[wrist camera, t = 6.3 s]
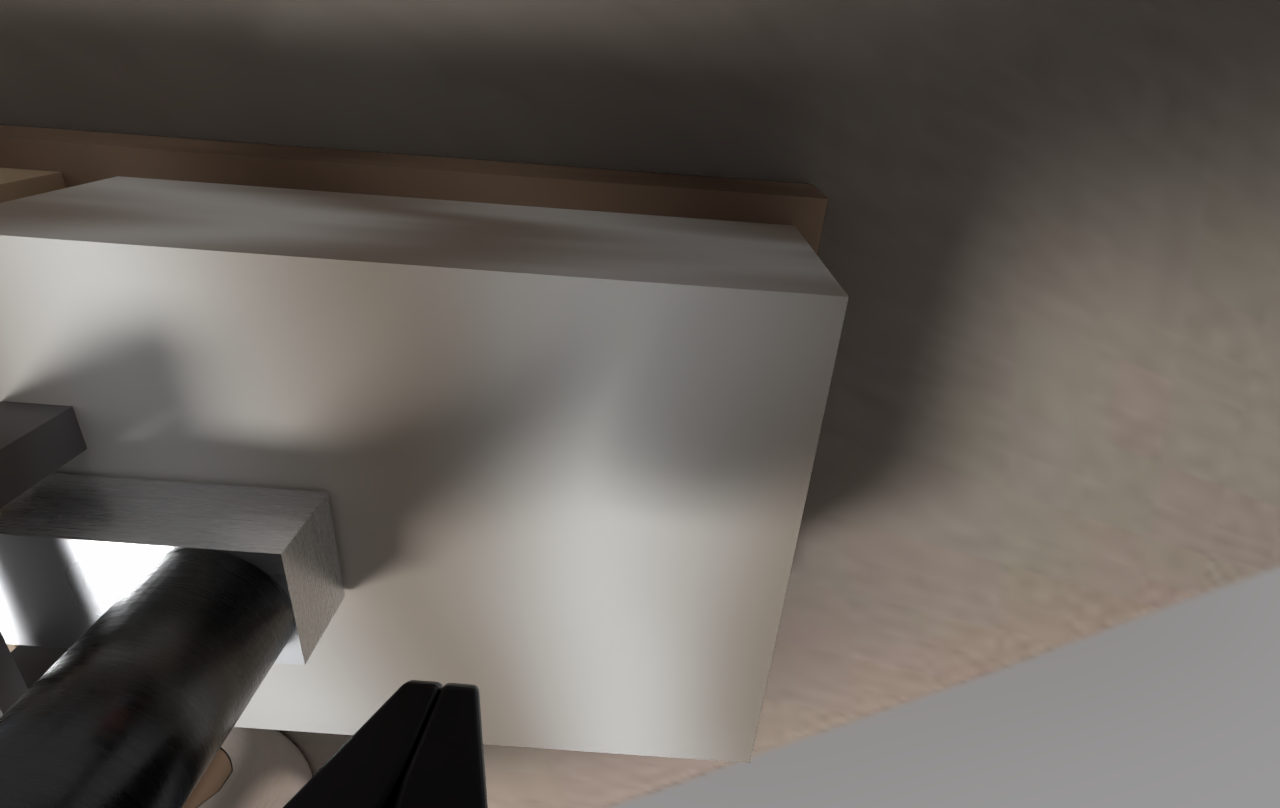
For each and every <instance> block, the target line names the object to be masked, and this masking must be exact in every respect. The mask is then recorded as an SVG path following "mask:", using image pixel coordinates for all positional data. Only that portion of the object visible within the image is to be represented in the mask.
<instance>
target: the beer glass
mask: <svg viewBox="0 0 1280 808" xmlns="http://www.w3.org/2000/svg"><path fill="white" fill-rule="evenodd" d="M312 777H313V776H312V772H311V769H310V766H309V764H308V762H307V760H306V758H305V757H304V755H303V754H302V752H301V751H300V750H299V749H298V747H297V746H296V745H295V744H294V743H293V742H292V741H291V740H290V739H289V738H287V737H286V736H285V735H284V734H283V733H281V732H280V731H279V730H271V729H257V728H242V727H233V729H232V730H231V732H230V733H229V735H228V737H227V738H226V740H225V741H224V743H223V744H222V746H221V748H220V749H219V751H218V752H217V754H216V755H215V757H214V759H213V760H212V762H211V763H210V765H209V766H208V768H207V770H206V771H205V773H204V774H203V776H202V777H201V779H200V781H199V782H198V784H197V785H196V787H195V789H194V790H193V792H192V793H191V795H190V796H189V798H188V800H187V801H186V803H185V804H184V806H183V807H182V808H283V807H284V806H285V805H286V804H287V803H288V802H289V801H290V800H291V799H292V798H293V797H294V795H295V794H296V793H297V792H298V791H299V790H300V789H301V788H302V787H303V786H304V785H305V784H306V783H307V782H308V781H309V780H310V779H311V778H312Z"/></svg>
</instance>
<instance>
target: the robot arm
mask: <svg viewBox="0 0 1280 808" xmlns="http://www.w3.org/2000/svg"><path fill="white" fill-rule="evenodd" d="M283 808H488V806H487V792H486V778H485V763H484V749H483V735H482V720H481V706H480V692H479V688H478V686H476V685H474V684H461V683H447V684H445V685H444V686H443V685H442V684H441V683H440V682H435V681H422V680H410V681H408V682H406V683H404V684H403V685H402V686H401V687H400V688H399V689H398V690H397V691H396V692H395V693H394V694H393V695H392V696H391V697H390V698H389V699H388V700H387V701H386V702H385V703H384V704H383V705H382V706H381V707H380V708H379V709H378V710H377V711H376V712H375V713H374V714H373V716H372V717H371V718H370V719H369V720H368V721H367V722H366V723H365V724H364V725H363V726H362V727H361V728H360V729H359V730H358V731H357V732H356V733H355V734H354V735H353V736H352V737H351V738H350V739H349V740H348V741H347V742H346V743H345V744H344V745H343V746H342V747H341V748H340V749H339V750H338V751H337V752H336V753H335V754H334V755H333V757H332V758H331V759H330V760H329V761H328V762H327V763H326V764H325V765H324V766H323V767H322V768H321V769H320V770H319V771H318V772H317V773H316V774H315V775H314V776H313V777H312V778H311V779H310V780H309V781H308V782H307V783H306V784H305V785H304V786H303V787H302V788H301V789H300V790H299V791H298V792H297V793H296V794H295V795H294V797H293V798H292V799H291V800H290V801H289V802H288V803H287V804H286V805H285V806H284V807H283Z"/></svg>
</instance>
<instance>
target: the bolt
mask: <svg viewBox="0 0 1280 808" xmlns="http://www.w3.org/2000/svg"><path fill="white" fill-rule="evenodd" d="M344 597H345V592H344V586H343V580H342V574H341V568H340V562H339V556H338V550H337V545H336V539H335V533H334V527H333V521H332V515H331V509H330V503H329V497H328V493H327V492H313V491H299V490H285V489H271V488H257V487H243V486H229V485H215V484H201V483H187V482H173V481H159V480H145V479H131V478H117V477H103V476H89V475H75V474H61V473H51V474H50V475H49V476H47V477H46V478H44V479H43V480H41V481H40V482H38V483H37V484H36V485H34V486H33V487H31V488H30V489H28V490H27V491H25V492H24V493H22V494H21V495H20V496H18V497H17V498H15V499H14V500H12V501H11V502H9V503H8V504H7V505H5V506H4V507H2V508H1V509H0V632H1V634H2V636H3V638H4V640H5V642H6V644H12V645H27V646H41V647H55V648H69V649H68V650H67V651H66V652H65V653H64V654H63V655H62V656H61V657H60V658H59V659H58V660H57V661H56V662H55V663H54V664H53V665H52V666H51V667H50V668H49V669H48V670H47V671H46V672H45V673H44V674H43V675H42V676H41V677H40V678H39V679H38V680H37V681H36V682H35V683H34V684H33V685H32V686H31V687H30V688H29V689H28V690H27V691H26V692H25V693H24V694H23V695H22V696H21V697H20V698H19V699H18V700H17V701H16V702H15V703H14V704H13V705H12V706H11V707H10V708H9V709H8V710H7V711H6V712H5V713H4V714H3V715H2V716H1V717H0V808H182V807H183V806H184V804H185V803H186V801H187V800H188V798H189V796H190V795H191V793H192V792H193V790H194V789H195V787H196V785H197V784H198V782H199V781H200V779H201V777H202V776H203V774H204V773H205V771H206V770H207V768H208V766H209V765H210V763H211V762H212V760H213V759H214V757H215V755H216V754H217V752H218V751H219V749H220V748H221V746H222V744H223V743H224V741H225V740H226V738H227V737H228V735H229V733H230V732H231V730H232V729H233V727H234V726H235V724H236V722H237V721H238V719H239V718H240V716H241V715H242V713H243V711H244V710H245V708H246V707H247V705H248V704H249V702H250V700H251V699H252V697H253V696H254V694H255V692H256V691H257V689H258V688H259V686H260V685H261V683H262V681H263V680H264V678H265V677H266V675H267V674H268V672H269V670H270V669H271V667H272V666H273V664H274V663H283V664H297V665H305V664H306V662H307V661H308V659H309V657H310V656H311V654H312V652H313V650H314V649H315V647H316V645H317V644H318V642H319V640H320V638H321V637H322V635H323V633H324V631H325V630H326V628H327V626H328V625H329V623H330V621H331V619H332V618H333V616H334V614H335V613H336V611H337V609H338V607H339V606H340V604H341V602H342V601H343V599H344Z"/></svg>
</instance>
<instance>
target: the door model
mask: <svg viewBox="0 0 1280 808" xmlns="http://www.w3.org/2000/svg"><path fill="white" fill-rule="evenodd" d="M827 202H828V198H827V197H825V196H824V195H823V194H822V193H821V192H820V191H819V190H818V189H816V188H815V187H814V186H813V185H812V184H803V183H789V182H775V181H762V180H748V179H734V178H721V177H707V176H693V175H680V174H666V173H653V172H639V171H625V170H612V169H598V168H584V167H571V166H557V165H543V164H530V163H516V162H502V161H489V160H475V159H462V158H448V157H434V156H421V155H407V154H393V153H380V152H366V151H352V150H339V149H325V148H312V147H298V146H284V145H271V144H257V143H243V142H230V141H216V140H202V139H189V138H175V137H161V136H148V135H134V134H121V133H107V132H93V131H80V130H66V129H52V128H39V127H25V126H11V125H0V509H1V508H2V507H4V506H5V505H7V504H8V503H9V502H11V501H12V500H14V499H15V498H17V497H18V496H20V495H21V494H22V493H24V492H25V491H27V490H28V489H30V488H31V487H33V486H34V485H36V484H37V483H38V482H40V481H41V480H43V479H44V478H46V477H47V476H49V475H50V474H51V473H61V474H75V475H89V476H103V477H117V478H131V479H145V480H159V481H173V482H187V483H201V484H215V485H229V486H243V487H257V488H271V489H285V490H299V491H313V492H327V493H328V497H329V503H330V509H331V515H332V521H333V527H334V533H335V539H336V545H337V550H338V556H339V562H340V568H341V574H342V580H343V586H344V592H345V597H344V599H343V601H342V602H341V604H340V606H339V607H338V609H337V611H336V613H335V614H334V616H333V618H332V619H331V621H330V623H329V625H328V626H327V628H326V630H325V631H324V633H323V635H322V637H321V638H320V640H319V642H318V644H317V645H316V647H315V649H314V650H313V652H312V654H311V656H310V657H309V659H308V661H307V662H306V664H305V665H297V664H283V663H274V664H273V666H272V667H271V669H270V670H269V672H268V674H267V675H266V677H265V678H264V680H263V681H262V683H261V685H260V686H259V688H258V689H257V691H256V692H255V694H254V696H253V697H252V699H251V700H250V702H249V704H248V705H247V707H246V708H245V710H244V711H243V713H242V715H241V716H240V718H239V719H238V721H237V722H236V724H235V726H234V727H242V728H257V729H271V730H285V731H300V732H314V733H328V734H342V735H354V734H355V733H356V732H357V731H358V730H359V729H360V728H361V727H362V726H363V725H364V724H365V723H366V722H367V721H368V720H369V719H370V718H371V717H372V716H373V714H374V713H375V712H376V711H377V710H378V709H379V708H380V707H381V706H382V705H383V704H384V703H385V702H386V701H387V700H388V699H389V698H390V697H391V696H392V695H393V694H394V693H395V692H396V691H397V690H398V689H399V688H400V687H401V686H402V685H403V684H404V683H406V682H408V681H410V680H422V681H435V682H440V683H441V684H442V685H443V686H444V685H445V684H447V683H461V684H474V685H476V686H478V688H479V692H480V706H481V720H482V735H483V744H486V745H500V746H514V747H529V748H543V749H557V750H572V751H586V752H600V753H615V754H629V755H643V756H657V757H672V758H686V759H700V760H715V761H729V762H743V763H750V761H751V756H752V751H753V747H754V742H755V737H756V732H757V728H758V723H759V718H760V714H761V709H762V704H763V699H764V695H765V690H766V685H767V681H768V676H769V671H770V666H771V662H772V657H773V652H774V648H775V643H776V638H777V633H778V629H779V624H780V619H781V615H782V610H783V605H784V600H785V596H786V591H787V586H788V582H789V577H790V572H791V567H792V563H793V558H794V553H795V549H796V544H797V539H798V534H799V530H800V525H801V520H802V516H803V511H804V506H805V501H806V497H807V492H808V487H809V483H810V478H811V473H812V468H813V464H814V459H815V454H816V450H817V445H818V440H819V435H820V431H821V426H822V421H823V417H824V412H825V407H826V402H827V398H828V393H829V388H830V384H831V379H832V374H833V369H834V365H835V360H836V355H837V351H838V346H839V341H840V336H841V332H842V327H843V322H844V318H845V313H846V308H847V303H848V299H849V296H848V295H847V294H846V292H845V291H844V290H843V288H842V287H841V286H840V285H839V283H838V282H837V281H836V279H835V278H834V277H833V275H832V274H831V273H830V271H829V270H828V269H827V267H826V266H825V265H824V263H823V262H822V261H821V260H820V258H819V257H818V251H819V245H820V240H821V235H822V229H823V224H824V218H825V213H826V208H827ZM68 649H69V648H55V647H41V646H27V645H12V644H6V642H5V640H4V638H3V636H2V634H1V632H0V717H1V716H2V715H3V714H4V713H5V712H6V711H7V710H8V709H9V708H10V707H11V706H12V705H13V704H14V703H15V702H16V701H17V700H18V699H19V698H20V697H21V696H22V695H23V694H24V693H25V692H26V691H27V690H28V689H29V688H30V687H31V686H32V685H33V684H34V683H35V682H36V681H37V680H38V679H39V678H40V677H41V676H42V675H43V674H44V673H45V672H46V671H47V670H48V669H49V668H50V667H51V666H52V665H53V664H54V663H55V662H56V661H57V660H58V659H59V658H60V657H61V656H62V655H63V654H64V653H65V652H66V651H67V650H68Z"/></svg>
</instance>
